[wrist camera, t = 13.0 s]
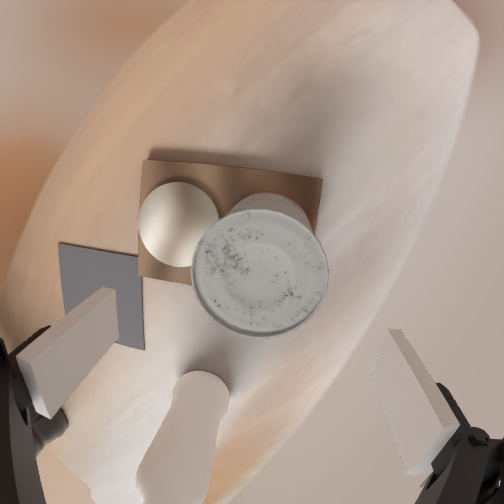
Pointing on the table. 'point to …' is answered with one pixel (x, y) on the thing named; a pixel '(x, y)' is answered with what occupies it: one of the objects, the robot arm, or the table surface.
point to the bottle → (184, 443)
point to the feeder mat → (105, 275)
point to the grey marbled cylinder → (260, 268)
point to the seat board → (202, 208)
